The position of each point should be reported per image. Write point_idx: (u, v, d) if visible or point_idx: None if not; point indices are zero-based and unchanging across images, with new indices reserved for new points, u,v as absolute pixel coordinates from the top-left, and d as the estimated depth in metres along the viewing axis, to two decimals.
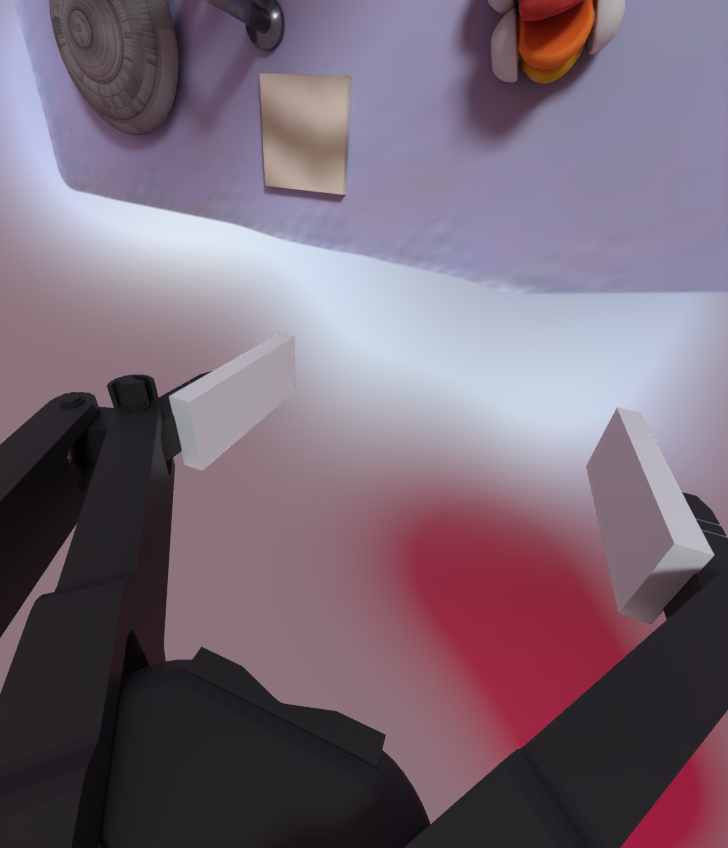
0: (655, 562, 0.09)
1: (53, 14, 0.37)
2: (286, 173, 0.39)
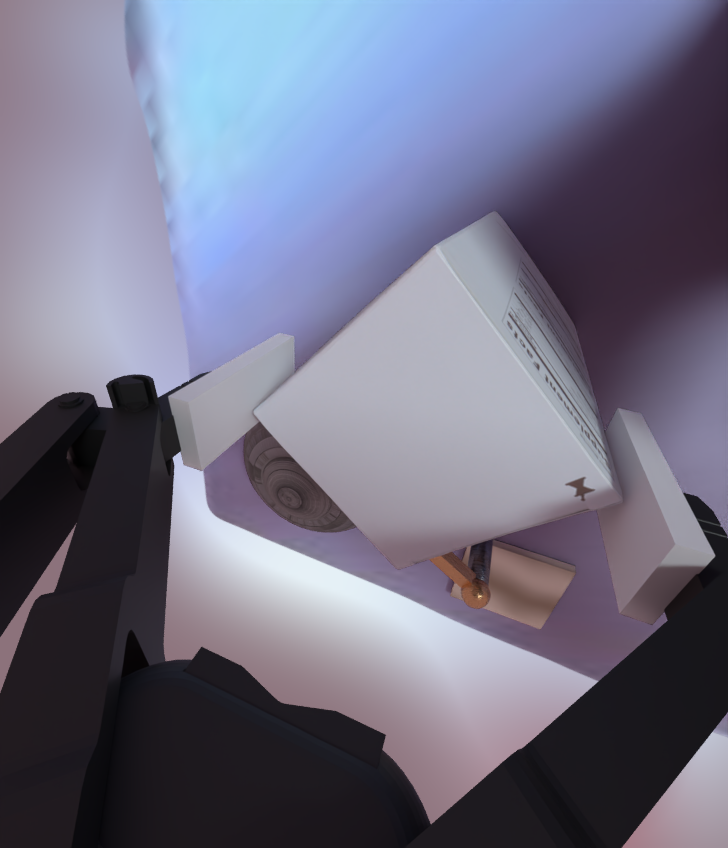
0: (656, 563, 0.09)
1: (254, 464, 0.36)
2: None
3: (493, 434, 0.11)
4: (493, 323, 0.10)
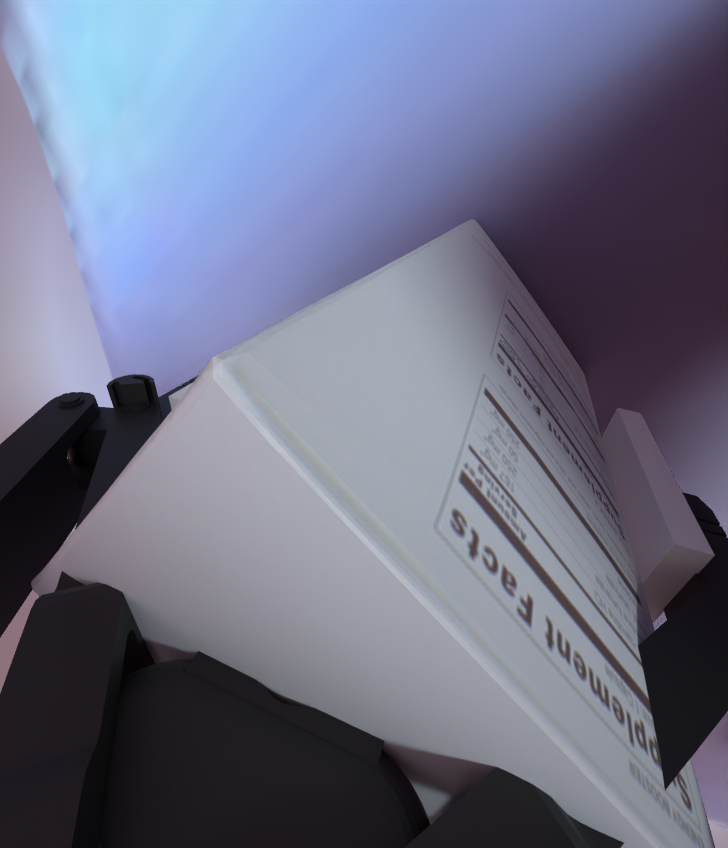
0: (656, 562, 0.09)
1: None
2: None
3: (427, 747, 0.05)
4: (404, 557, 0.04)
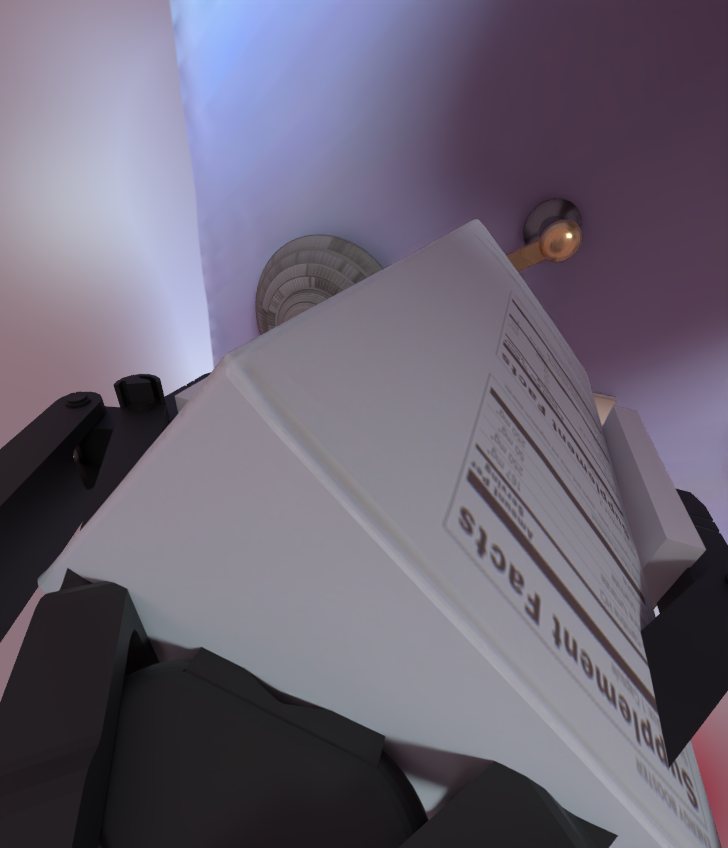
0: (648, 557, 0.09)
1: (267, 308, 0.34)
2: None
3: (434, 745, 0.05)
4: (413, 554, 0.04)
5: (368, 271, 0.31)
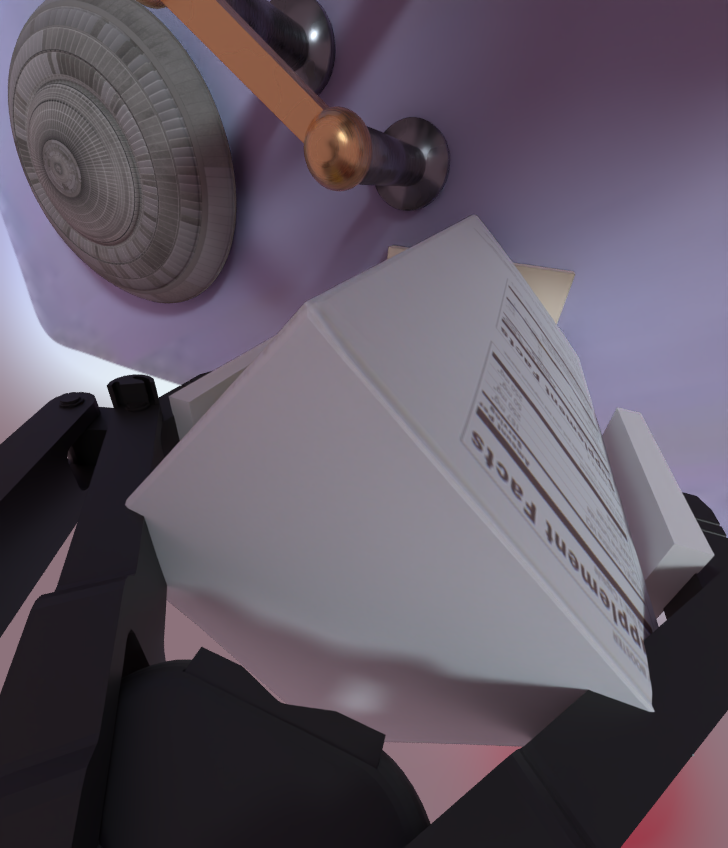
0: (655, 562, 0.09)
1: (15, 134, 0.21)
2: None
3: (453, 629, 0.06)
4: (440, 454, 0.05)
5: (145, 39, 0.17)
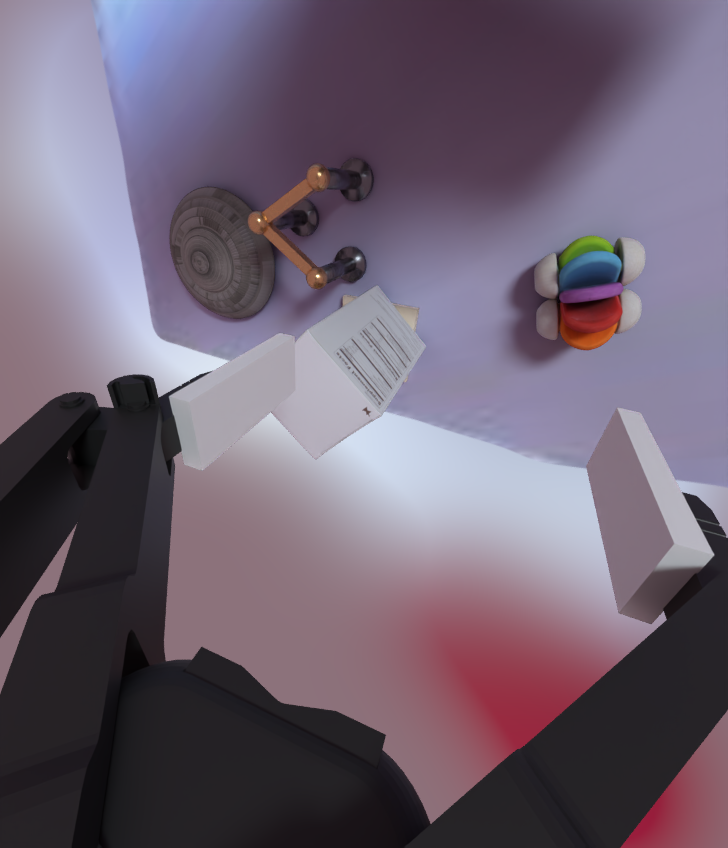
0: (655, 562, 0.09)
1: (174, 243, 0.45)
2: None
3: (335, 392, 0.31)
4: (328, 353, 0.30)
5: (240, 213, 0.42)
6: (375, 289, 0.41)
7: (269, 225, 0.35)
